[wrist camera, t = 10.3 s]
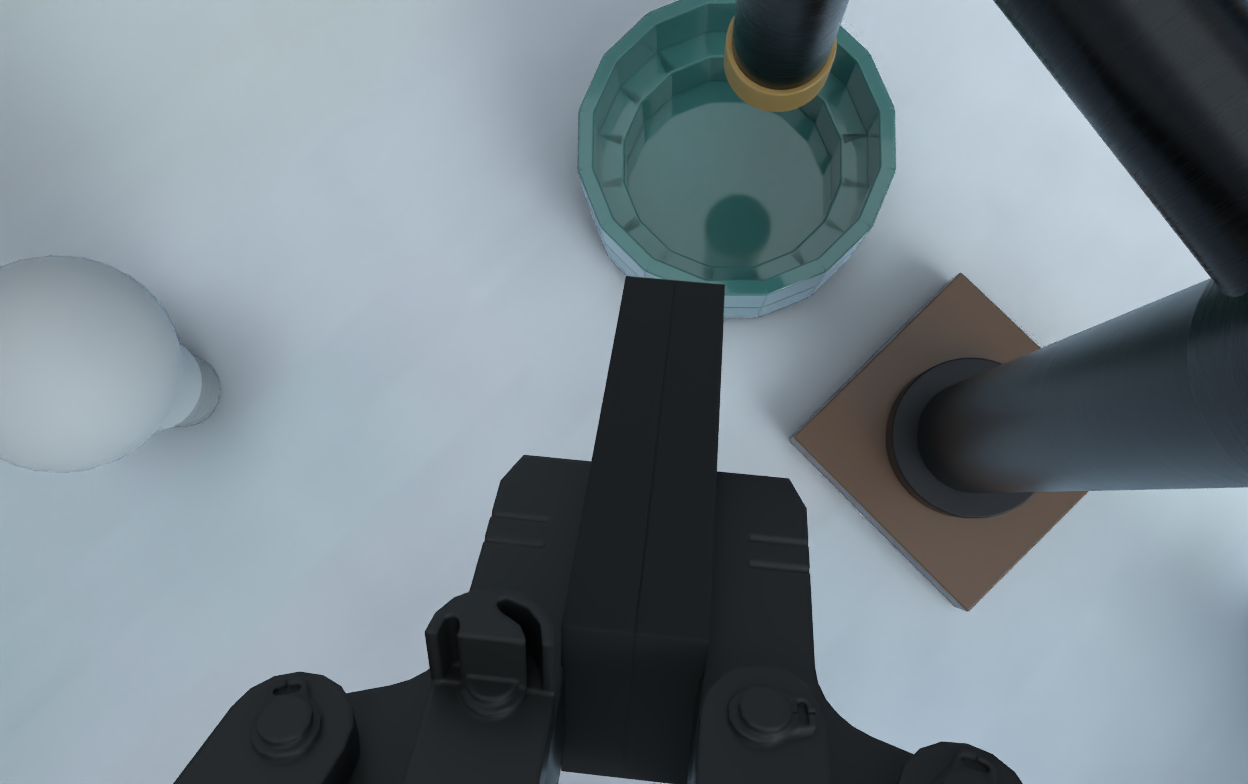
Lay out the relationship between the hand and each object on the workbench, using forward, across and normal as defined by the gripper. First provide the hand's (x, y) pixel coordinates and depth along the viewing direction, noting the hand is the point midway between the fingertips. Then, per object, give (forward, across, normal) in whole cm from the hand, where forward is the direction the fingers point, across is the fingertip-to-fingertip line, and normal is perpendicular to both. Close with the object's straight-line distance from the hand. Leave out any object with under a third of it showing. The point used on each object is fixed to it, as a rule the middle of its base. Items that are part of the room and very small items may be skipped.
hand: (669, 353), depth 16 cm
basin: (+20, +1, -8) cm, 22 cm away
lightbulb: (+14, -17, -14) cm, 26 cm away
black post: (+14, +10, -14) cm, 22 cm away
